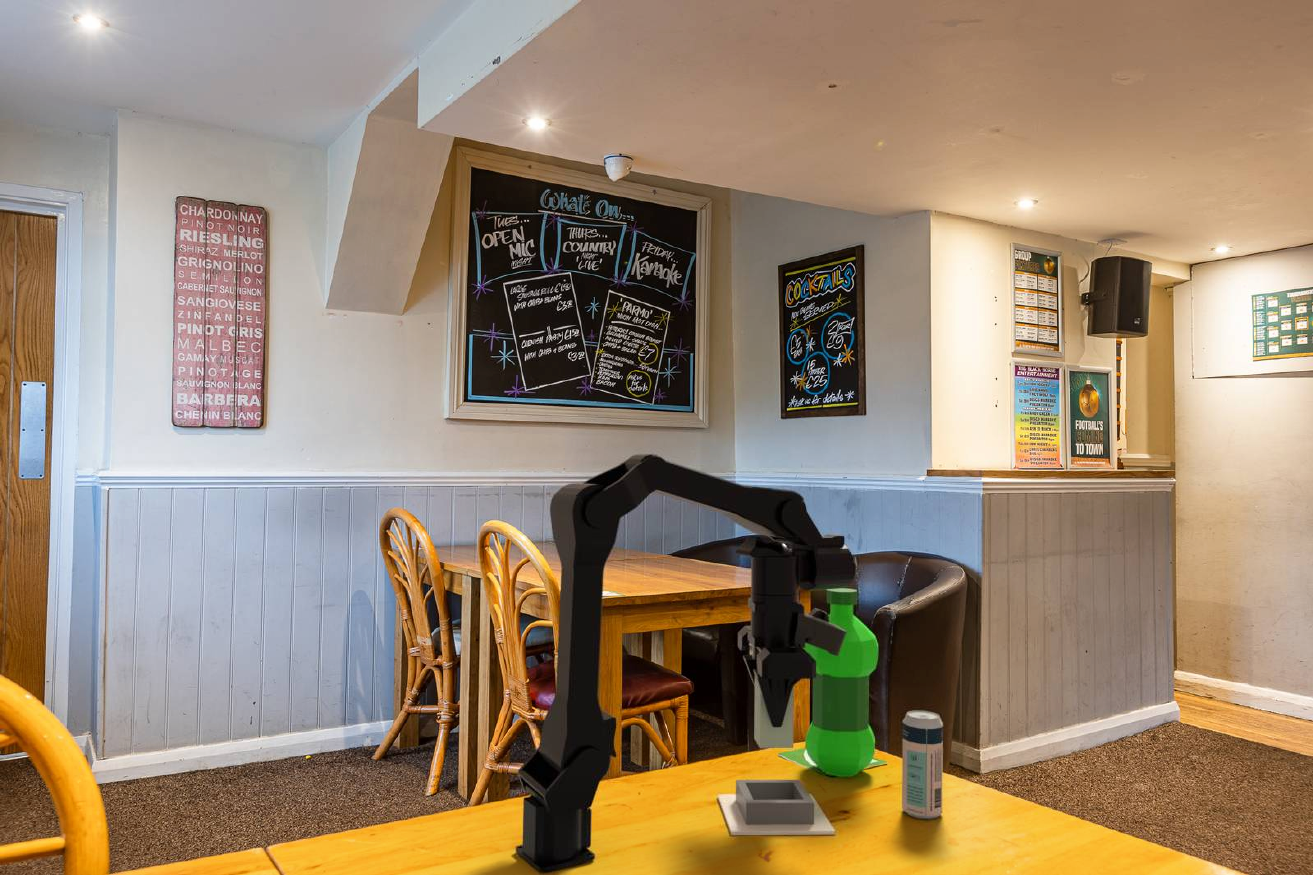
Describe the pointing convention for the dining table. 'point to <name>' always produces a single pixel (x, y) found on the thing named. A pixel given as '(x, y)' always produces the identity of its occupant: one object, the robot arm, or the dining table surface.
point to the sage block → (763, 727)
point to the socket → (773, 809)
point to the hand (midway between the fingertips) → (773, 722)
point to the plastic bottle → (843, 694)
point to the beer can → (922, 764)
